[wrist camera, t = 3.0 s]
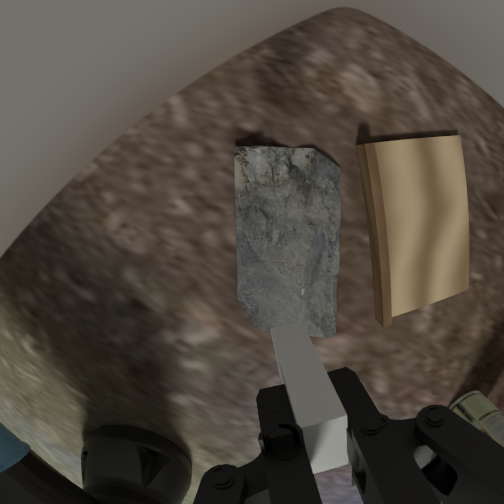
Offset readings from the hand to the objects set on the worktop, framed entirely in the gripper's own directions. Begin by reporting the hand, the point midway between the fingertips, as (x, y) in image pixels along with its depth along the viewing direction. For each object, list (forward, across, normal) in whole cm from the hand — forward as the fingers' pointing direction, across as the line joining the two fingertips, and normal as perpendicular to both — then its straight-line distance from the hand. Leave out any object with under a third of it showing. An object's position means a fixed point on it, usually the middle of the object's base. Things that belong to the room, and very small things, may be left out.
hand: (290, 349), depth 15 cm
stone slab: (+15, +8, 0) cm, 17 cm away
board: (+16, +18, 0) cm, 24 cm away
